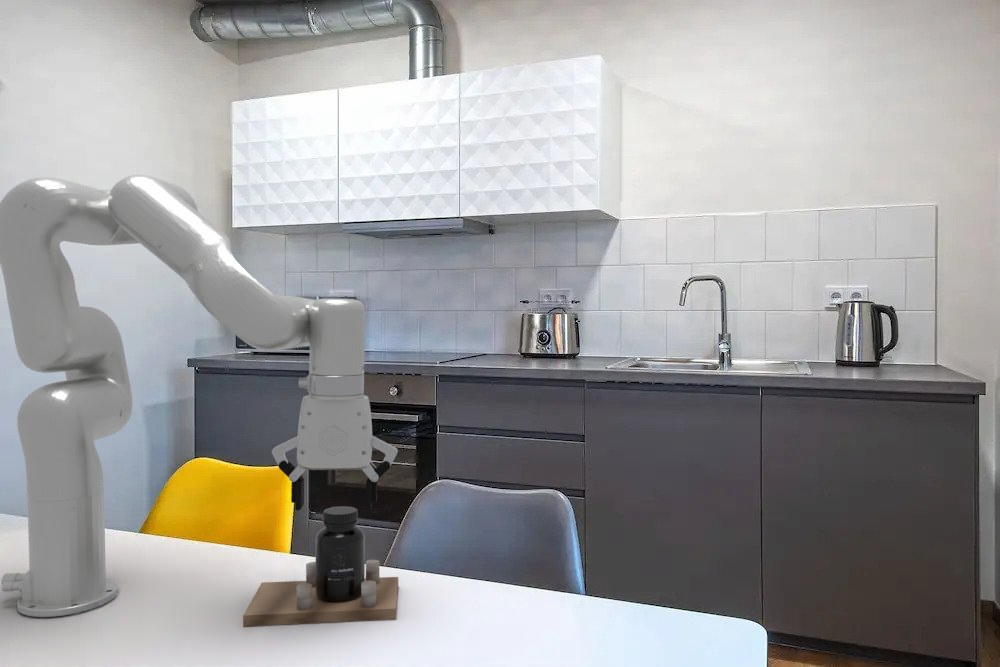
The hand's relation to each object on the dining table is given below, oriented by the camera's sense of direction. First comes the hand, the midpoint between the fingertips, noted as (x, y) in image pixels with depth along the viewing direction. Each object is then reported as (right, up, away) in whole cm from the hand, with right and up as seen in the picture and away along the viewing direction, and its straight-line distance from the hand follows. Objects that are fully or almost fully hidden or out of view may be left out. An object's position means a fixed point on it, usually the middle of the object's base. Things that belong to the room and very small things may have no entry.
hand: (334, 507), depth 107 cm
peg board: (-1, -14, 0) cm, 14 cm away
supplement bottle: (+1, -13, 0) cm, 13 cm away
